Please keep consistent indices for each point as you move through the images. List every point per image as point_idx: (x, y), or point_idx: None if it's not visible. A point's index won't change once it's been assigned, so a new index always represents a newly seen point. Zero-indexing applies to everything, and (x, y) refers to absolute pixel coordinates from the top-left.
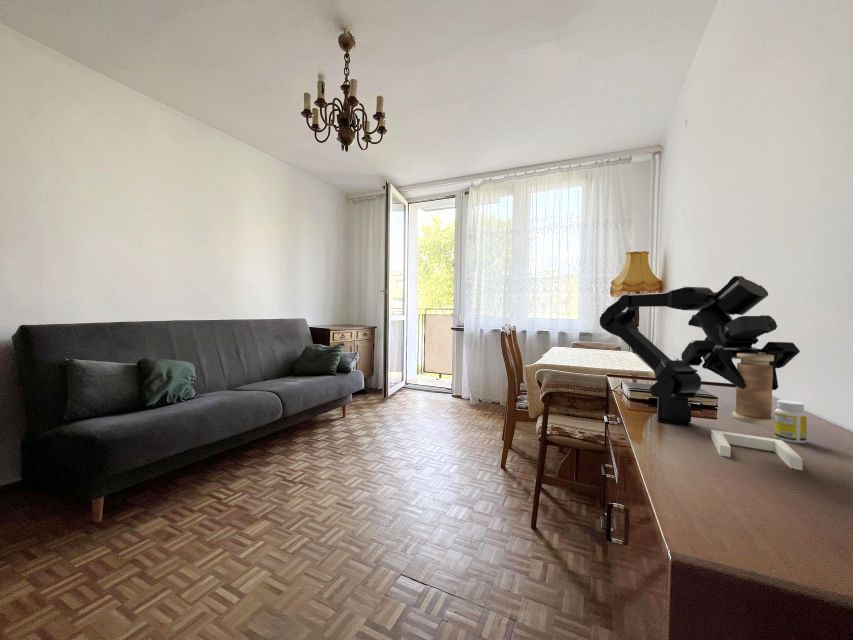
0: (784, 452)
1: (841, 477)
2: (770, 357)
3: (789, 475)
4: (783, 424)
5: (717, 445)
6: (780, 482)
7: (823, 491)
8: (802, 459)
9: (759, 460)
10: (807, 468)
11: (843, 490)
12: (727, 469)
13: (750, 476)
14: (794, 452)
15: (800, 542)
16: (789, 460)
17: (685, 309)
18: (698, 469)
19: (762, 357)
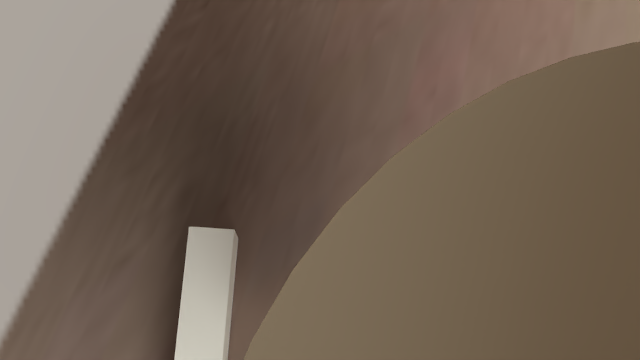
0: (226, 325)
1: (68, 233)
2: (393, 169)
3: (275, 138)
4: None
5: None
6: (335, 38)
7: (219, 26)
8: (190, 227)
9: None
10: (160, 285)
11: (142, 73)
12: (490, 78)
13: (423, 45)
14: (181, 332)
15: None
16: (234, 246)
17: None
18: (590, 20)
19: (621, 62)
